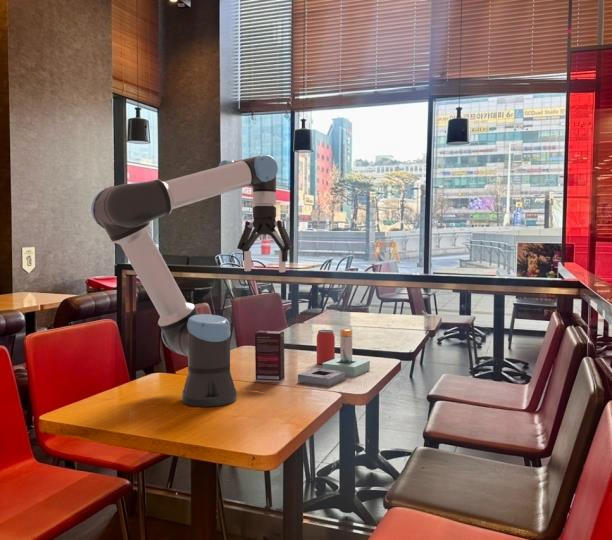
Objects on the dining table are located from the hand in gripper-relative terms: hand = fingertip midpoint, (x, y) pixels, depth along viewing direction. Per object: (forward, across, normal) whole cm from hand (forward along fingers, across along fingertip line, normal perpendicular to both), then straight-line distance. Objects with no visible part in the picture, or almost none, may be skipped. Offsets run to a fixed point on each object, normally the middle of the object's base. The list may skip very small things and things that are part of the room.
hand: (264, 271), depth 189 cm
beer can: (+35, -6, -30) cm, 46 cm away
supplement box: (+35, -4, +3) cm, 35 cm away
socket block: (+35, -19, -21) cm, 45 cm away
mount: (+35, -19, -4) cm, 40 cm away
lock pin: (+34, -19, -21) cm, 44 cm away
